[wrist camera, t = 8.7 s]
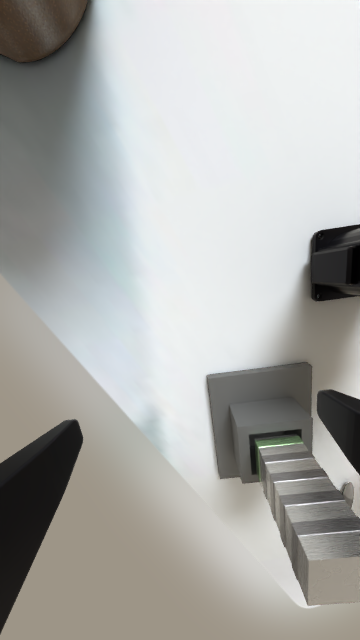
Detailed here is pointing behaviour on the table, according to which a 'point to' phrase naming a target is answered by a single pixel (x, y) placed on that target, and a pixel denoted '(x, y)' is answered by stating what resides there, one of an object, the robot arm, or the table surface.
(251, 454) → the stand base
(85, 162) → the table surface
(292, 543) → the column
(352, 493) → the pen
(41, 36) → the plant pot
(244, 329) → the table surface
